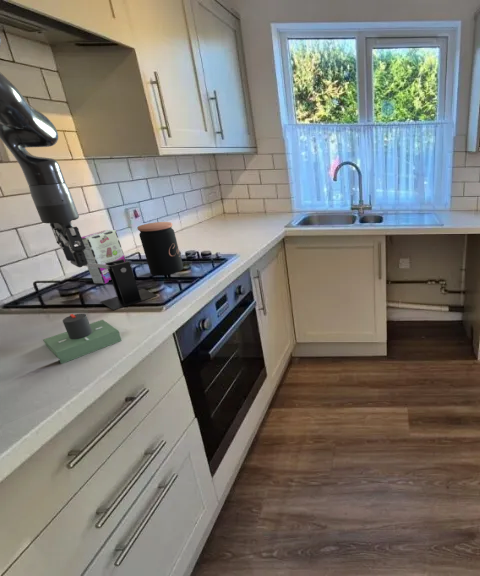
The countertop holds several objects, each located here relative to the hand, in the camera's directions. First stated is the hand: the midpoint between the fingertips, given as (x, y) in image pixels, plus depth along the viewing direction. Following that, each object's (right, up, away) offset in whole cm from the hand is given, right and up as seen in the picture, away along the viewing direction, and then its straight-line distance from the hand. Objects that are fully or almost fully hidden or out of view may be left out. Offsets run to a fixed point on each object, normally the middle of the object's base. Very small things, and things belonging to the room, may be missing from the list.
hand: (77, 262), depth 98 cm
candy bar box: (-15, -4, +32) cm, 36 cm away
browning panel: (+11, -21, -10) cm, 26 cm away
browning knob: (+11, -18, -12) cm, 24 cm away
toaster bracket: (+5, -11, +13) cm, 18 cm away
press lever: (+2, -2, +5) cm, 5 cm away
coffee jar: (+3, -1, +36) cm, 36 cm away
